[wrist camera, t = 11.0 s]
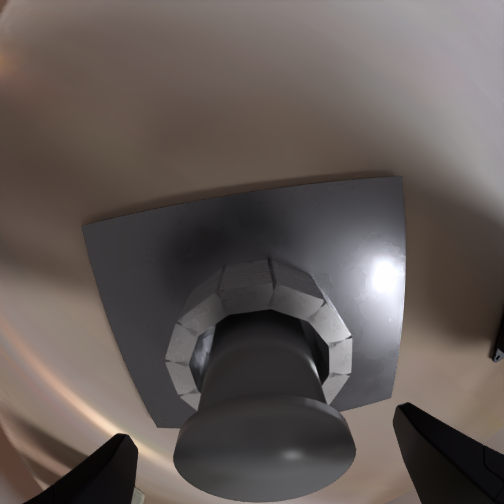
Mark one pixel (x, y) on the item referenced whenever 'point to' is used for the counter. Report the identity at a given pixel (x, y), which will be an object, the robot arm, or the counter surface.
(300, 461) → the plug
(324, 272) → the barrel stand
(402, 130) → the counter surface
